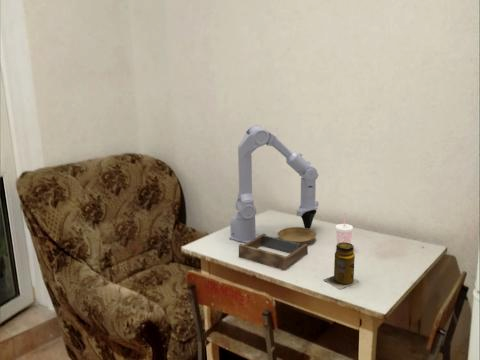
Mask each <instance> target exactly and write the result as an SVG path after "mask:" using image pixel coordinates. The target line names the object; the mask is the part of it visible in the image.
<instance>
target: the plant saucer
mask: <svg viewBox="0 0 480 360" xmlns="http://www.w3.org/2000/svg"><path fill="white" fill-rule="evenodd" d="M277 236H278V238H279V239H283V240H287V241H291V242H295V243H299V244H301V246H302V245H303V244H308V245H309V243H311V242H312V241H313V240H315V238H316V237H317V232H315V231H314V230H312V229H311V228H310V229H308V228H305V227H301V226H300V227H299V226H296V227H294V226H292V227H286V228H282V229H280V230H279V231H278V232H277Z"/></svg>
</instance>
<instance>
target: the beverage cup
mask: <svg viewBox="0 0 480 360" xmlns="http://www.w3.org/2000/svg"><path fill="white" fill-rule="evenodd" d="M335 230H336V233H335V234H336V245H337V244H338V243H342V242H346V243H350V244H352V235H353V230H354V226H353V225H351V224H348V223H346V213H343V223H338V224H336V225H335Z"/></svg>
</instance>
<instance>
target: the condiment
mask: <svg viewBox="0 0 480 360" xmlns="http://www.w3.org/2000/svg"><path fill="white" fill-rule="evenodd" d="M335 247H336V248H335V252H334V263H333V265H334V266H333V271H334V272H333V275H332V276H330V277H327V278H324V279H323V281H324V282H327V283H328V284H330V285H332V287H335V288H336V289H339V290H342V289H345V288H347V287H350V286H352V285H355V284H357V283H359V282H360V280H358V279H356V278H354V277H355V255H356V254H355V252H354V251H355V250H354V249H355V247H354V245H353V244H352V243H351V244H350V243H346V242H342V243H338V244H337V243H336V246H335Z"/></svg>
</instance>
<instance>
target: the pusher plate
mask: <svg viewBox="0 0 480 360" xmlns="http://www.w3.org/2000/svg"><path fill="white" fill-rule="evenodd" d="M261 235H262V234H261ZM261 246H263V247H267V248H269V249H274V250H277V251H281V252H285V253H289V254H291V253H292V252H294V251H295V250H296V249H298V248H299V247H301V246H302V245H301V244H299V243H295V242H291V241H287V240H283V239H280V238H279V237H273V236H271V235H270V236H269V235H267V234H266V235H262V245H261Z"/></svg>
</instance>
